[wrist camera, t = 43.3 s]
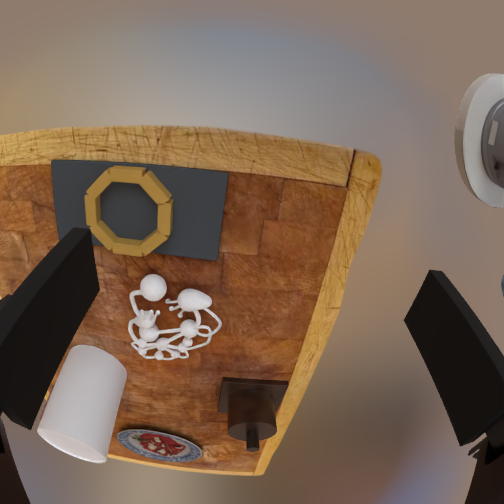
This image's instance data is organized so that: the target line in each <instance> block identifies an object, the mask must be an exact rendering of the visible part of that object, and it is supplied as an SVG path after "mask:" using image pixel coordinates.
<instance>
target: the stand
mask: <svg viewBox="0 0 504 504" xmlns="http://www.w3.org/2000/svg"><path fill="white" fill-rule="evenodd" d="M288 386H289V385H288V381H272V380H253V379H239V378H227V377H223V380H222V386H221V392H220V398H219V404H218V412H221V413H228V434H229V435H230V436H231V437H233V438H235V439H238V440H243V441H246V446H247V451H250V452H255V451H258V450H259V440H264V439H267V438H270V437H272V436H273V435H275V434H276V432H277V426H276V416H275V413H276V411H277V409H278V407H279V405H280V403H281V401H282V398H283V396H284V394H285V392H286V390H287V388H288Z"/></svg>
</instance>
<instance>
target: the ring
mask: <svg viewBox="0 0 504 504" xmlns="http://www.w3.org/2000/svg"><path fill="white" fill-rule="evenodd" d="M112 182H125V183H137V184H140V185H141V187H142V188H143V189H144V190H145V191H146V192H147V193H148V194H149V196H150V197H151V198H152V199H153V200H154V201H155V202H156V203H157V205H158V227H157V229H156V230H155V231H153V232H152V233H151V234H150V235H148V236H147V237H146V238H145V239H144V240H135V239H127V238H119V237H117V236H116V234H115V233H114V232H113V231H112V230H111V229H110V228H109V227H108V226H107V225H106V224H105V223H104V222H103V221H102V220H101V208H100V194H101V193H102V192H103V191H104V190H105V189H106V188H107V187H108V186H109V185H110V184H111V183H112ZM86 193H87V194H86V195H85V210H86V222H87V225H88V226H91V227H90V228H89V229H91V232H92V233H93V234H94V236H95V237H96V238H97V239H98V240H99V241H100V242H101V243H102V244H103V245H104V246H105V247H106V248H107V249H108V250H109V251H110V250H111V249H112V248H113V253H117V254H124V255H131V256H138V257H142V256H143V254H144V255H145V256H146V255H148V254H149V253H150V252H151V251H153V250H154V249H155V248H157V247H158V246H159V245H160V244H162V243H163V242H164V241H166V240H167V239H168V237H169V235H170V233H171V231H172V222H173V203H174V199H170V198H171V196H172V194H171V193H170V192H169V191H168V190H167V189H166V187H165V186H164V185H163V184H162V183H161V182H160V181H159V179H158V178H157V177H156V176H155V175H154V174H153V173H152V171H151V170H149V171H148V172H147V173H146V168H144V167H131V166H116V165H115V166H113V167H112V168H111V167H110V168H108V169H107V170H106V171H105V172H104V173H103V174H102V175H101V176H100V177H99V178H98V179H97V180H96V181H95V182H94V183H93V184H92V185H91V186H90V188H89V189H88V190H87V191H86Z"/></svg>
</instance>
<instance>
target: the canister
mask: <svg viewBox="0 0 504 504" xmlns="http://www.w3.org/2000/svg"><path fill="white" fill-rule="evenodd" d="M126 379H127V372H126V369H125V368H124V366H123V365H122V364H121V363H120V362H119V361H118V360H117V359H116V358H115V357H114V356H112V355H111V354H109V353H107V352H106V351H104V350H101V349H99V348H96V347H93V346H89V345H77V346H74V347H72V348H71V350H70V352H69V354H68V356H67V358H66V360H65V363H64V365H63V367H62V369H61V372H60V374H59V376H58V378H57V381H56V383H55V386H54V388H53V390H52V393H51V395H50V398H49V400H48V403H47V405H46V408H45V411H44V413H43V416H42V419H41V421H40V424H39V427H38V430H37V432H38V434H39V435H40V436H41V437H42V438H43V439H44V440H45V441H47V442H48V443H49V444H51V445H52V446H54V447H56V448H57V449H59V450H61V451H63V452H65V453H67V454H69V455H71V456H74V457H76V458H79V459H82V460H86V461H90V462H94V463H104V462H106V459H107V454H108V450H109V445H110V441H111V437H112V432H113V428H114V424H115V420H116V416H117V412H118V408H119V405H120V401H121V397H122V393H123V390H124V386H125V383H126Z"/></svg>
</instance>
